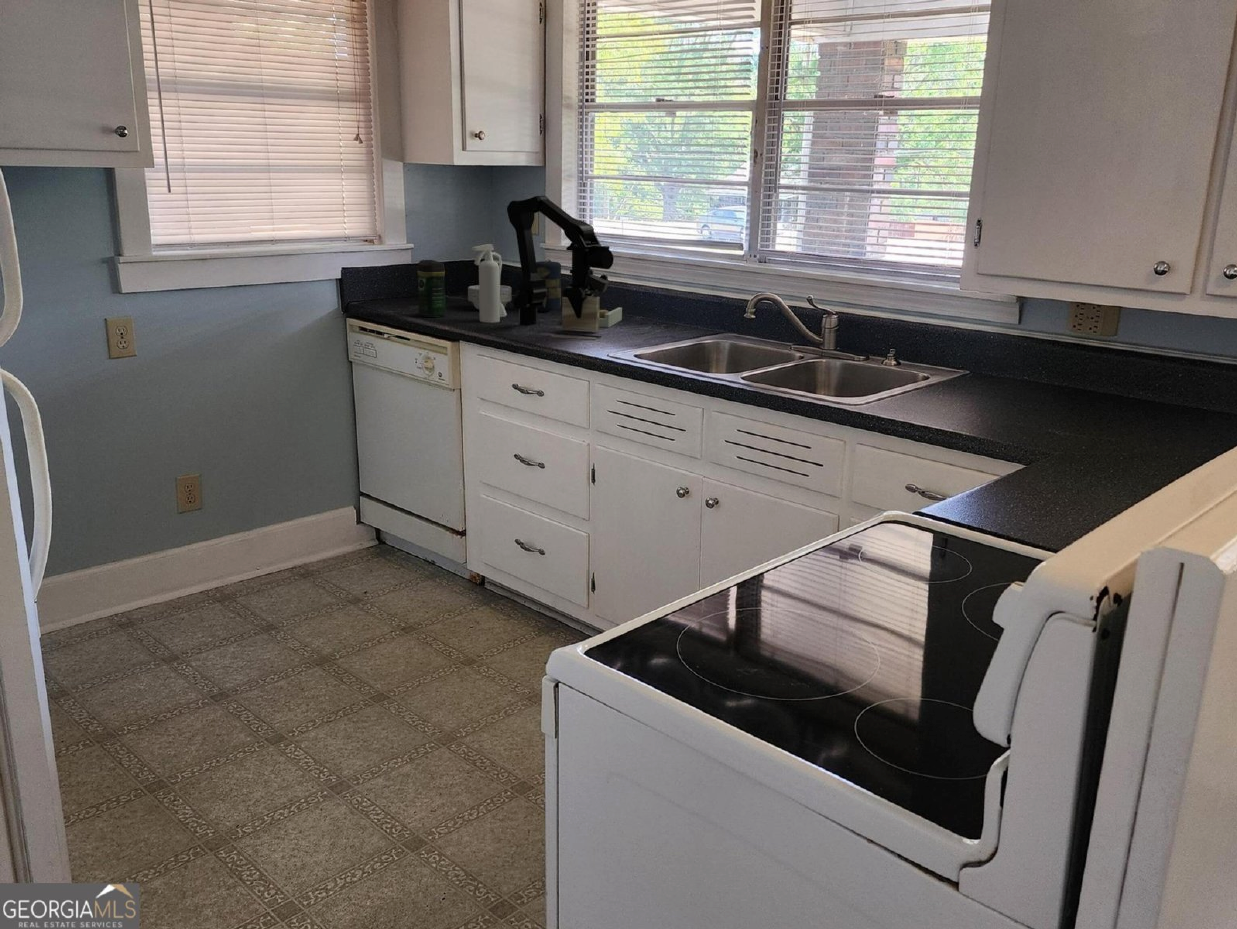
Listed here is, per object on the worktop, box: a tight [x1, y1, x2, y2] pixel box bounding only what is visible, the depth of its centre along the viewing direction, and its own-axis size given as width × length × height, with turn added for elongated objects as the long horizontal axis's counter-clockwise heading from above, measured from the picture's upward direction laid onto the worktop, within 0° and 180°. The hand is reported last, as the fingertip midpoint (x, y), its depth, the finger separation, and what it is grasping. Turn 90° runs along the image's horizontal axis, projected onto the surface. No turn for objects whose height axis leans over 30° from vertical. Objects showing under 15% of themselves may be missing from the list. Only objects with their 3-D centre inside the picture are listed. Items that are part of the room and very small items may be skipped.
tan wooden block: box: [561, 295, 601, 332], centre depth 326 cm, size 3×11×10 cm, turn 75°
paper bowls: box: [467, 284, 512, 311], centre depth 373 cm, size 15×15×8 cm
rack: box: [599, 307, 623, 328], centre depth 345 cm, size 16×15×5 cm
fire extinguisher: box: [471, 243, 507, 324], centre depth 345 cm, size 7×12×25 cm, turn 130°
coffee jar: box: [416, 259, 447, 318], centre depth 353 cm, size 10×8×19 cm
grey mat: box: [551, 332, 603, 341], centre depth 328 cm, size 14×14×1 cm
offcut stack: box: [599, 309, 608, 319], centre depth 341 cm, size 4×11×4 cm, turn 75°
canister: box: [536, 258, 562, 312], centre depth 370 cm, size 10×10×18 cm
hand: (580, 317), depth 326 cm, fingers closed on tan wooden block, 3 cm apart
